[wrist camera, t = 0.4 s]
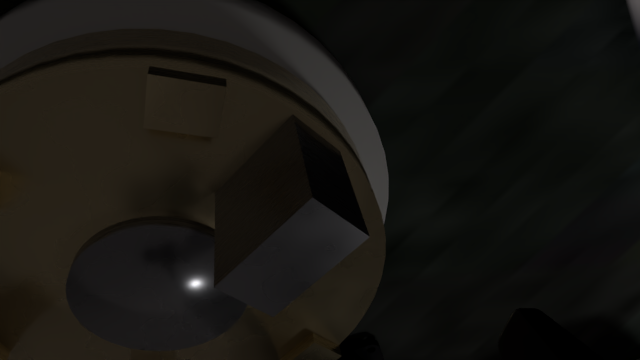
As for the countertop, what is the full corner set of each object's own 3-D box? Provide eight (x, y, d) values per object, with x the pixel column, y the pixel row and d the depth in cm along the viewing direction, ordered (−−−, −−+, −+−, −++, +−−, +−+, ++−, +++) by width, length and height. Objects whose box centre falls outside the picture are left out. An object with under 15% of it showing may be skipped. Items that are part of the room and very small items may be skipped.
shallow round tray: (207, 389, 27) (204, 541, 21) (-143, 259, 19) (-295, 447, 13) (443, 198, 22) (520, 333, 16) (94, -93, 14) (8, -25, 8)
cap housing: (211, 367, 30) (211, 402, 28) (-153, 222, 21) (-187, 260, 19) (455, 164, 24) (473, 192, 22) (94, -164, 15) (77, -160, 13)
